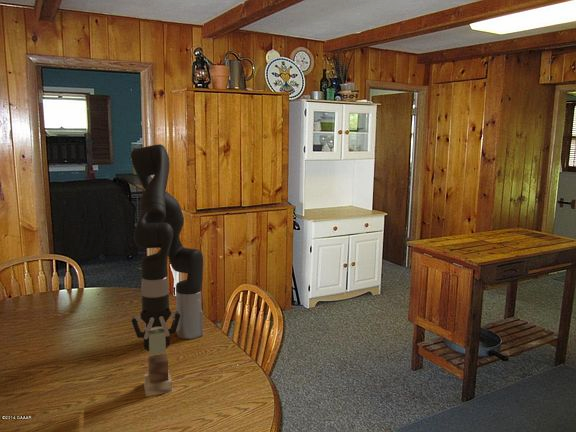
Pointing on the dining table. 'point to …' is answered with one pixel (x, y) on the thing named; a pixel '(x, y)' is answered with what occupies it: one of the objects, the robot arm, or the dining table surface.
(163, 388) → the maple slab
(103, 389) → the dining table surface
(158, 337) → the sage block
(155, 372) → the walnut block
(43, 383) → the dining table surface
